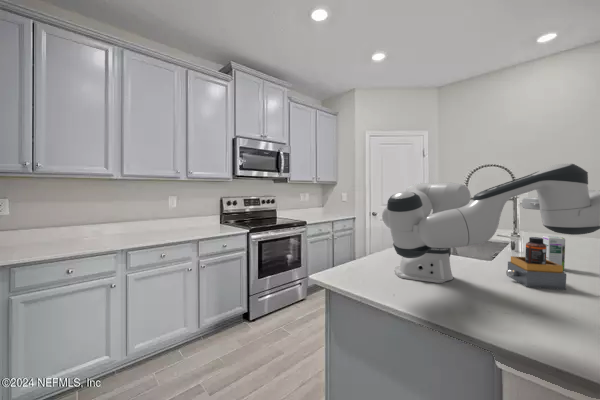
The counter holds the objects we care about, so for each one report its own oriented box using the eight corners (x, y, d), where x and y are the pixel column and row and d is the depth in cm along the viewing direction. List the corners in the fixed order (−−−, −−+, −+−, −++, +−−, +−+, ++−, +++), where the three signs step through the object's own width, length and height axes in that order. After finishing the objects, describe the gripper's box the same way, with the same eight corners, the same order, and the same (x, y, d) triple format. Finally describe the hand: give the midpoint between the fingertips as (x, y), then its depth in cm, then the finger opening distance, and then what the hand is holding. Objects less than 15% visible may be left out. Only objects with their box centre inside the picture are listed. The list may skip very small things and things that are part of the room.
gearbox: (517, 286, 97) (517, 264, 96) (499, 275, 109) (499, 255, 109) (565, 290, 93) (566, 266, 93) (541, 277, 106) (542, 257, 106)
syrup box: (548, 269, 116) (549, 237, 116) (541, 265, 122) (542, 235, 121) (564, 271, 114) (566, 238, 113) (556, 267, 120) (558, 236, 119)
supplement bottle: (549, 269, 97) (551, 239, 96) (531, 268, 98) (532, 239, 98) (539, 264, 103) (540, 236, 102) (521, 264, 104) (522, 236, 104)
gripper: (537, 215, 78) (511, 210, 91) (623, 216, 73) (582, 211, 86) (537, 194, 77) (512, 193, 91) (624, 194, 73) (583, 192, 86)
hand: (547, 202), depth 89 cm, fingers open, 8 cm apart
